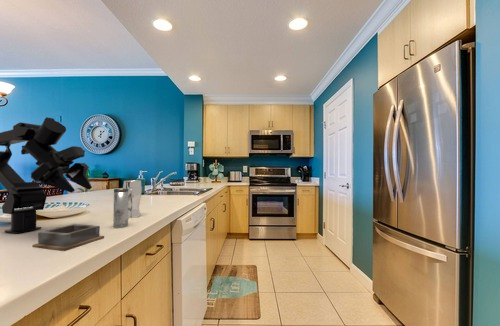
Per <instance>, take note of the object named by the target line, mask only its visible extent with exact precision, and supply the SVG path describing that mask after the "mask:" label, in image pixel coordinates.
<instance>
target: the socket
mask: <svg viewBox="0 0 500 326" xmlns="http://www.w3.org/2000/svg"><path fill="white" fill-rule="evenodd" d="M100 230H101V227H100V225H93V224H92V225H90V224H80V223H78V224H77V223H74V224H69V225H65V226H59V227H56V228H52V229H47V230H44V231H43V230H42V231H39V232H38V242H37V243H34V244H32V248H35V249H36V248H37V249H47V250H54V251H62V252H66V251H69V250H72V249H75V248H79V247H81V246H85V245H87V244H90V243H93V242H97V241H100V240H103V239H105V236H104V235H100Z"/></svg>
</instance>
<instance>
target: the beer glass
mask: <svg viewBox="0 0 500 326" xmlns="http://www.w3.org/2000/svg"><path fill="white" fill-rule="evenodd" d="M122 188H128V189H129V190H128V219H132V218H138V217H141V213H140V204H141V203H140V202H141V199H142V192H143V191H142V189H143V188H142V181H141V179H137V180H135V179H134V180H133V179H131V180H123V185H122Z"/></svg>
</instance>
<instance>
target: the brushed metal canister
mask: <svg viewBox="0 0 500 326" xmlns="http://www.w3.org/2000/svg"><path fill="white" fill-rule="evenodd" d="M128 190H129V189H128V188H123V187H121V188H114V189H113V214H112V215H113V217H112V218H113V220H112V221H113V223H112V227H113V228H114V229H121V228H127V227H128V226H129V218H128Z"/></svg>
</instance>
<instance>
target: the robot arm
mask: <svg viewBox="0 0 500 326" xmlns="http://www.w3.org/2000/svg"><path fill="white" fill-rule="evenodd" d="M66 131H67V127H66V126H65V125H64V124H62V123H61V122H59V121H56V119H55V118H53V117H47V116H46V117H45V118H44V120H43V122H42V123H41V124H34V123H26V122H17V123H16V124H14V125H12V129H10V130H4V131H1V132H0V147H5V150H0V184H1V186H2V187H3V188H4V189H5V190H6V191H7V192H8V196H7V198H6V199H5V201H4V203H3V204H2V206H1V210H2V214H5V215H6V214H7V215H10V229H7V230H6V229H5V230H4V233H8V234H9V233H11V234H23V233H27V232H31V231H36V230H41V229H42V227H41V226H37V219H38V217H37V211H43V210H44V209H45V205H46V202H47V193H46V192H45V190H43V189H44V188H43V186H41V185H43V184H44V185H47V186H51V187H53V188H57V189H59V190H63V191H65V192H67V193H68V192H69V193H74V192H75V189H74V187H73V185H72V184H71V183H74V184H76V185H78V186H80V187H82V188H84V189H86V190H91V189H92V185H91V183H90V180H89V179H88V176H87V172H88V171H89V166H88V164H86V163H84V162H75V163H74V161H75V160H77V159H80V158H84V157H86V156H85V152H86V150H85V149H83V147H81V146H73V145H72V146H70V147H69V146H68V147H67V148H65V149H62V150H57V149H55V148H54V145H57V144H58V142H59V141H60V140H61V139H62V137H63V135H64V134H65V133H66ZM24 142H26V143H25V144H24V145H21V151H20V154H21V155H30V156H31V157H32V158H33V159H34V160H36V162H35V164H36V166H37V167H36V168H35V169H34V170H32V171H31V172H30V178H31V179H32V180H33V181H27V182H26V181H25V180H24V179H23V178H22V177H21V176H20V175H19V174H18V172H17V171H16V170H14V169H13V168H12V166H11V165H10V164H9V162H10V160H11V158H12V155H13V152H12V150H11V148H10V147H11V145H15V144H20V143H24ZM35 164H34V165H35ZM68 179H69V180H68ZM69 181H70V182H71V183H70V182H69ZM39 183H40V184H41V185H40V184H39Z"/></svg>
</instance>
